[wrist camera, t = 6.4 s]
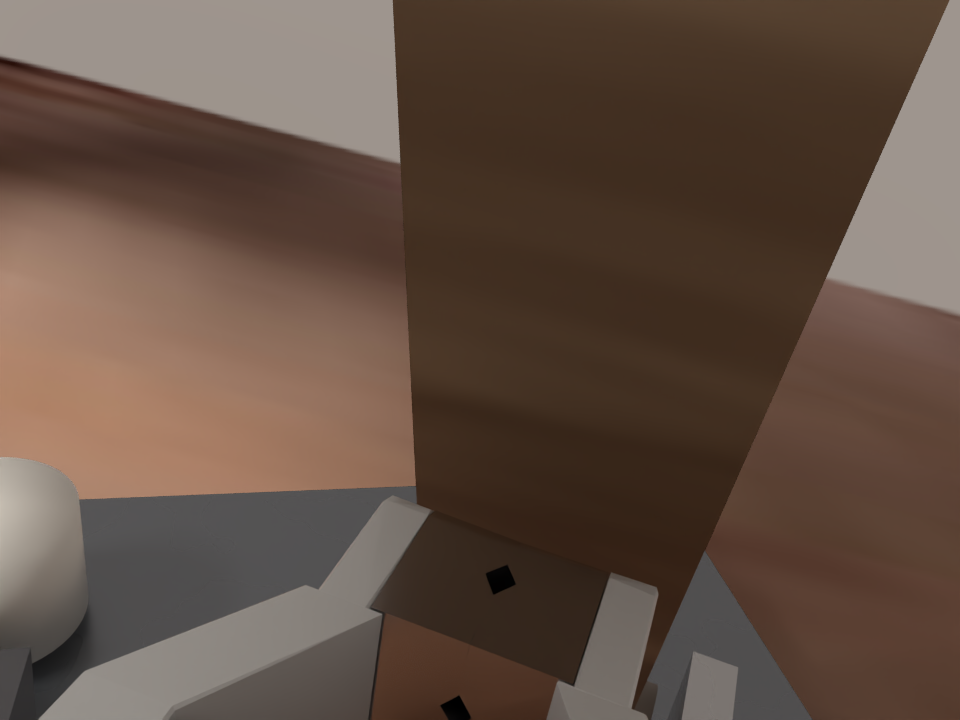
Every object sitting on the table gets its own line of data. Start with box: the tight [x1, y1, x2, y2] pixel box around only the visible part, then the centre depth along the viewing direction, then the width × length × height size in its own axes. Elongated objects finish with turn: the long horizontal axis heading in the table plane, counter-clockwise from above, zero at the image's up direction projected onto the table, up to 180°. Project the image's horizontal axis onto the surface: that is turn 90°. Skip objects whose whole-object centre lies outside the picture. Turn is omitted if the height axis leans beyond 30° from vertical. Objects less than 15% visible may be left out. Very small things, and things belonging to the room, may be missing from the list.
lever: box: [393, 0, 949, 720], centre depth 10 cm, size 3×4×20 cm
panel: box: [32, 486, 812, 720], centre depth 17 cm, size 12×20×5 cm, turn 104°
